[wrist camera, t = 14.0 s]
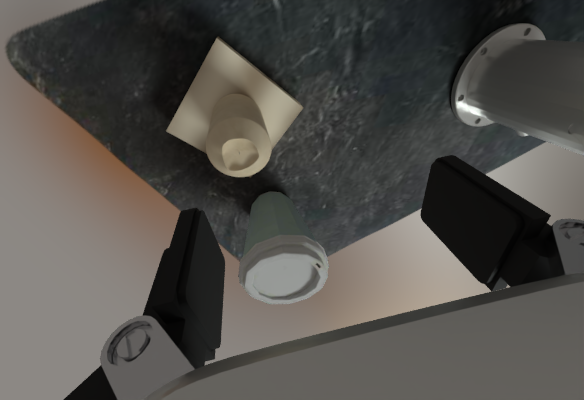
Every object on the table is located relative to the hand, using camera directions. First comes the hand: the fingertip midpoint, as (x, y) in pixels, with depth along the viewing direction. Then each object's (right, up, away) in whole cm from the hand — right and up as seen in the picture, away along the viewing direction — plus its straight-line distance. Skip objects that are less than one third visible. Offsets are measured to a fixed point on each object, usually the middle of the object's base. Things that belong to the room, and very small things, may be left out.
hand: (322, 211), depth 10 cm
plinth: (-8, +11, +20) cm, 25 cm away
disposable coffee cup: (-5, 0, +30) cm, 30 cm away
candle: (-7, +10, +18) cm, 22 cm away
